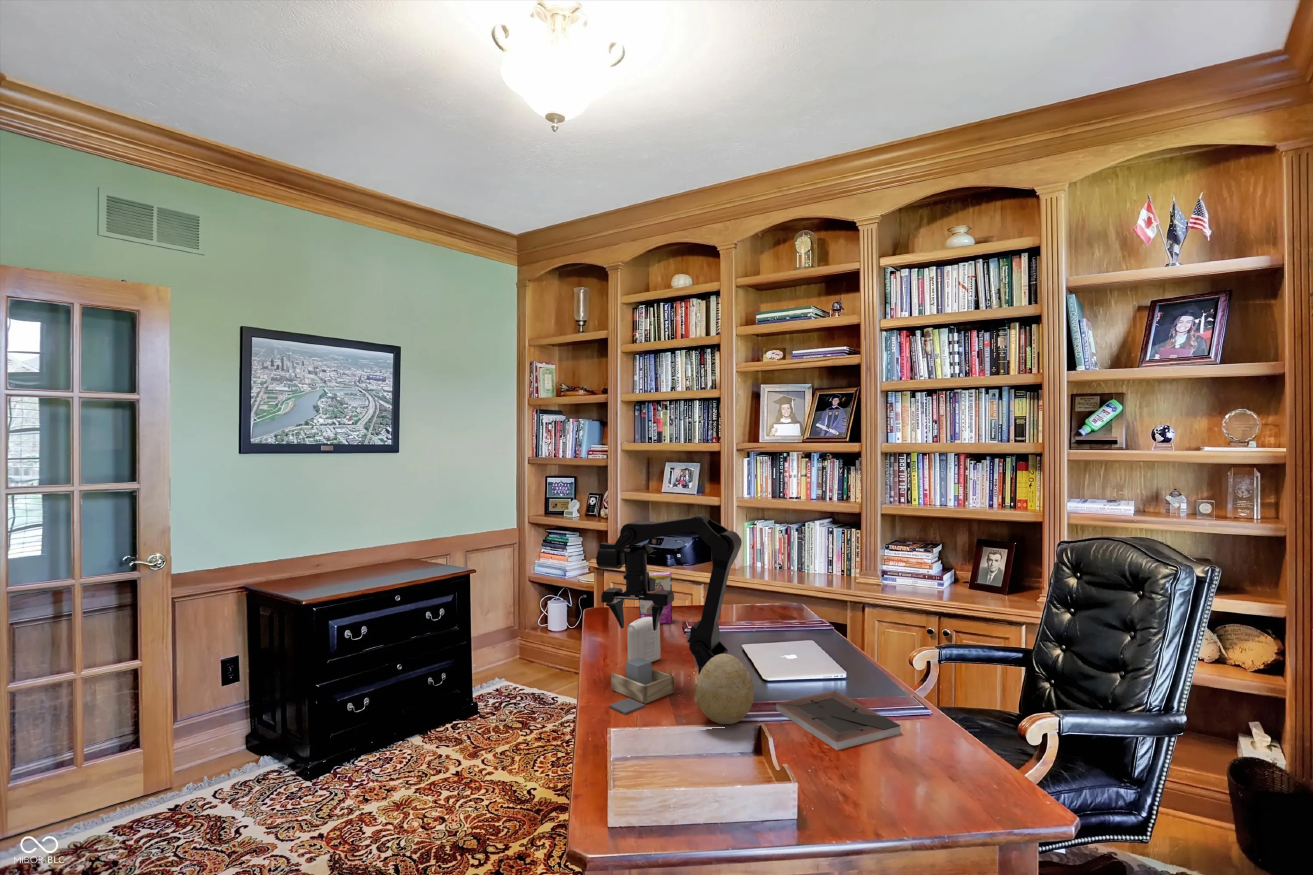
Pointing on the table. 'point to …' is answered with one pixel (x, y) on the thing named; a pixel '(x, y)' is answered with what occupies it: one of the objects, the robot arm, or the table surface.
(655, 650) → the white rounded slab
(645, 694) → the u-shaped bracket
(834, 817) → the table surface
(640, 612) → the candy bar box
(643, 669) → the slate block
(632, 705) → the felt coaster
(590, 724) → the table surface
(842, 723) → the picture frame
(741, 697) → the fossilized egg
